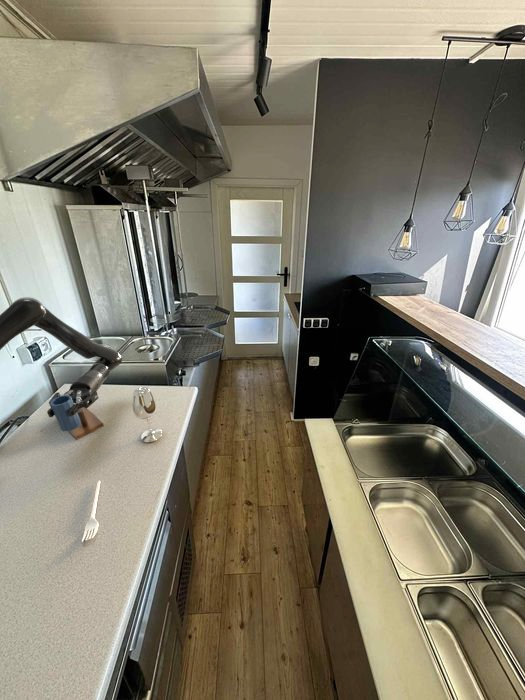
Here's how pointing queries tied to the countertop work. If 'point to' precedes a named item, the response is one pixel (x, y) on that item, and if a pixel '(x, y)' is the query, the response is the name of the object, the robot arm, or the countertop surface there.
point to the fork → (92, 518)
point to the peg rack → (86, 423)
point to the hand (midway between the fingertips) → (59, 414)
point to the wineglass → (145, 412)
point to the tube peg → (65, 413)
